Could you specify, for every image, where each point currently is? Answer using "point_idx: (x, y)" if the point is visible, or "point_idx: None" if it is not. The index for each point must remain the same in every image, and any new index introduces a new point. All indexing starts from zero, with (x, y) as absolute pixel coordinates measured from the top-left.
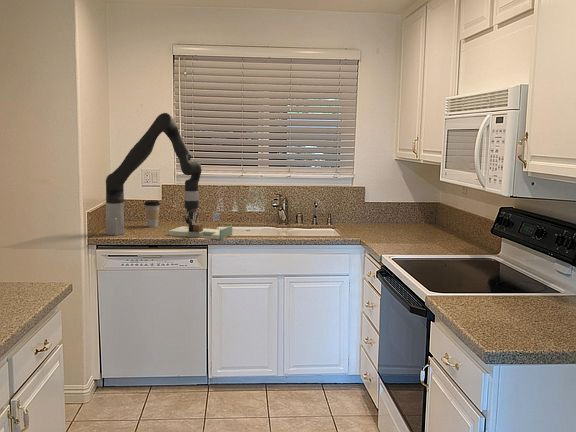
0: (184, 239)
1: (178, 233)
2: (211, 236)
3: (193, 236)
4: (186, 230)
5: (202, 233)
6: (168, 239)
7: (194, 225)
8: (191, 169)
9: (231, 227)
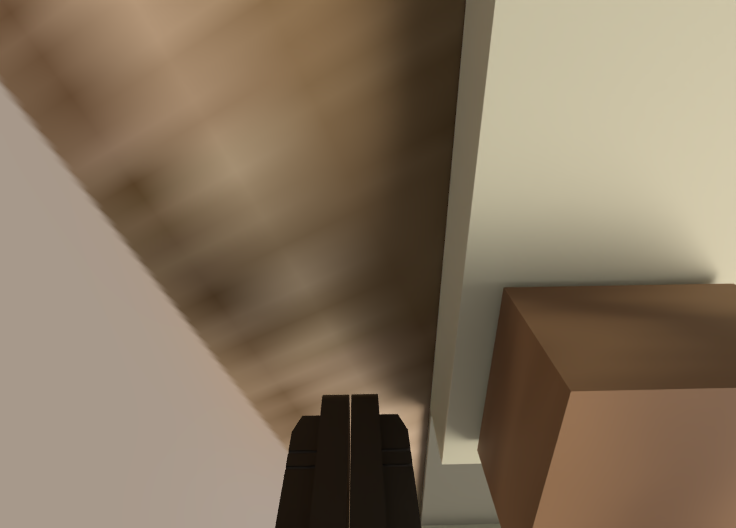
0: (208, 295)
1: (474, 44)
2: None
3: (439, 338)
4: (674, 166)
5: None
6: (18, 33)
7: (530, 506)
8: None
9: None
